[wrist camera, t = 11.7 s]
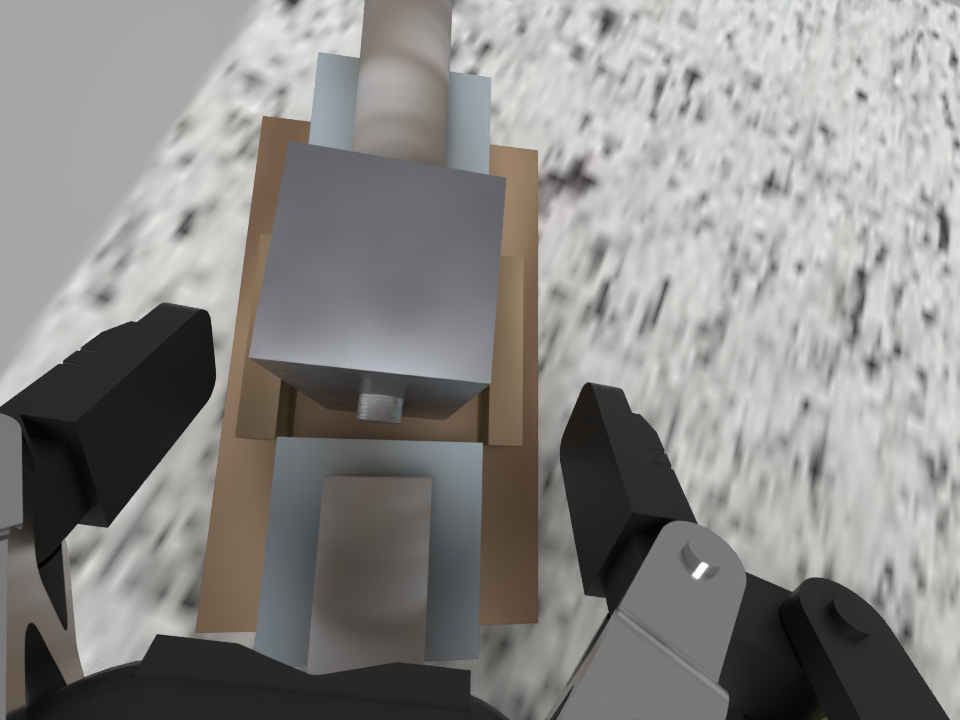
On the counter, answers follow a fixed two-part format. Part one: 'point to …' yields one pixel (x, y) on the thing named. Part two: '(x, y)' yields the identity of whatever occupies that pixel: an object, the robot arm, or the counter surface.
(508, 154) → the shaft bed
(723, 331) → the counter surface
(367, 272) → the grey rectangular block
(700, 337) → the counter surface
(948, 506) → the counter surface
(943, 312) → the counter surface
